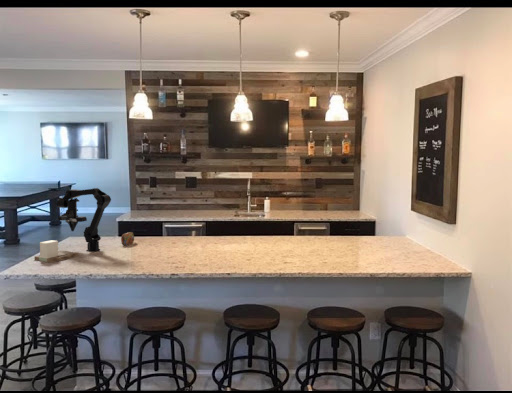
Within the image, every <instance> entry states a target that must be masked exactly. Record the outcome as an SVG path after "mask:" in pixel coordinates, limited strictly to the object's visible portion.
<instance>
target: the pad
mask: <svg viewBox="0 0 512 393" xmlns="http://www.w3.org/2000/svg"><path fill="white" fill-rule="evenodd" d="M55 257H56V256H55ZM38 261H40V262H45V263H48V262H47V258H42V257H39V260H38Z"/></svg>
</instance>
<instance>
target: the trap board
mask: <svg viewBox="0 0 512 393" xmlns="http://www.w3.org/2000/svg"><path fill="white" fill-rule="evenodd" d="M58 255H59V256H56V257H51V258H47V262H46V263H56V262H60V261H64V260H68V259H71V258H72V259H73V258H76V257H79V252H74V251H68V250H58ZM33 257H34V260H35V261H39V257H40V254H39V255H35V256H33Z"/></svg>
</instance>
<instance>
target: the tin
mask: <svg viewBox="0 0 512 393" xmlns="http://www.w3.org/2000/svg"><path fill="white" fill-rule="evenodd" d="M120 241H121V245H122V246H124V247H125V246H126V247H128V246H130V245H132V244H133V243H134V241H135V234H134V232H132V231H129V232H125V233H123V234H122V235H121V237H120Z"/></svg>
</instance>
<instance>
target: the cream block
mask: <svg viewBox="0 0 512 393" xmlns="http://www.w3.org/2000/svg"><path fill="white" fill-rule="evenodd" d="M58 251H59V240H51V239H50V240H46V241H40V242H39V255H40V257H42V258H51V257H55V256H59V255H58Z"/></svg>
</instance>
